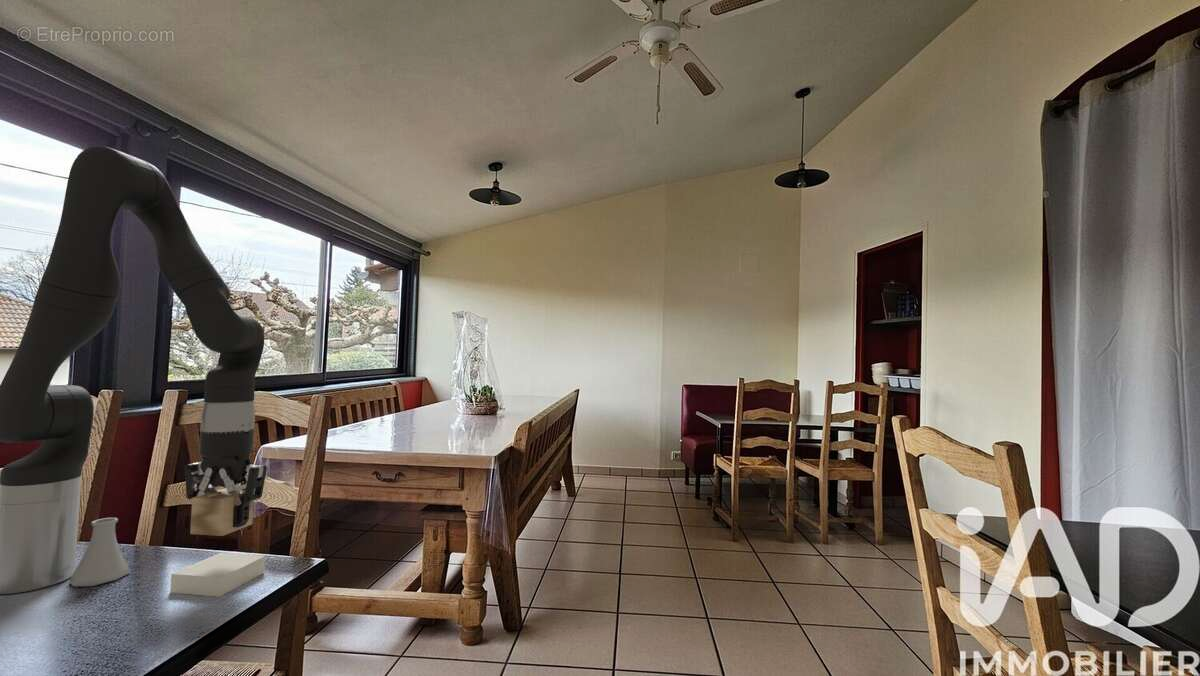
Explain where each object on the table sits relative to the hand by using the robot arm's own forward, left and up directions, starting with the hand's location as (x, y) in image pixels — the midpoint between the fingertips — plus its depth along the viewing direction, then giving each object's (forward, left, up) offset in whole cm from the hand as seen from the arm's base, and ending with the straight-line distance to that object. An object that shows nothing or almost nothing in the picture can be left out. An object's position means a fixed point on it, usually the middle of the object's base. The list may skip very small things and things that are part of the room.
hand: (222, 524), depth 84 cm
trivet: (0, 0, -10) cm, 10 cm away
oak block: (0, 0, -1) cm, 1 cm away
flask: (-21, -2, -10) cm, 24 cm away
